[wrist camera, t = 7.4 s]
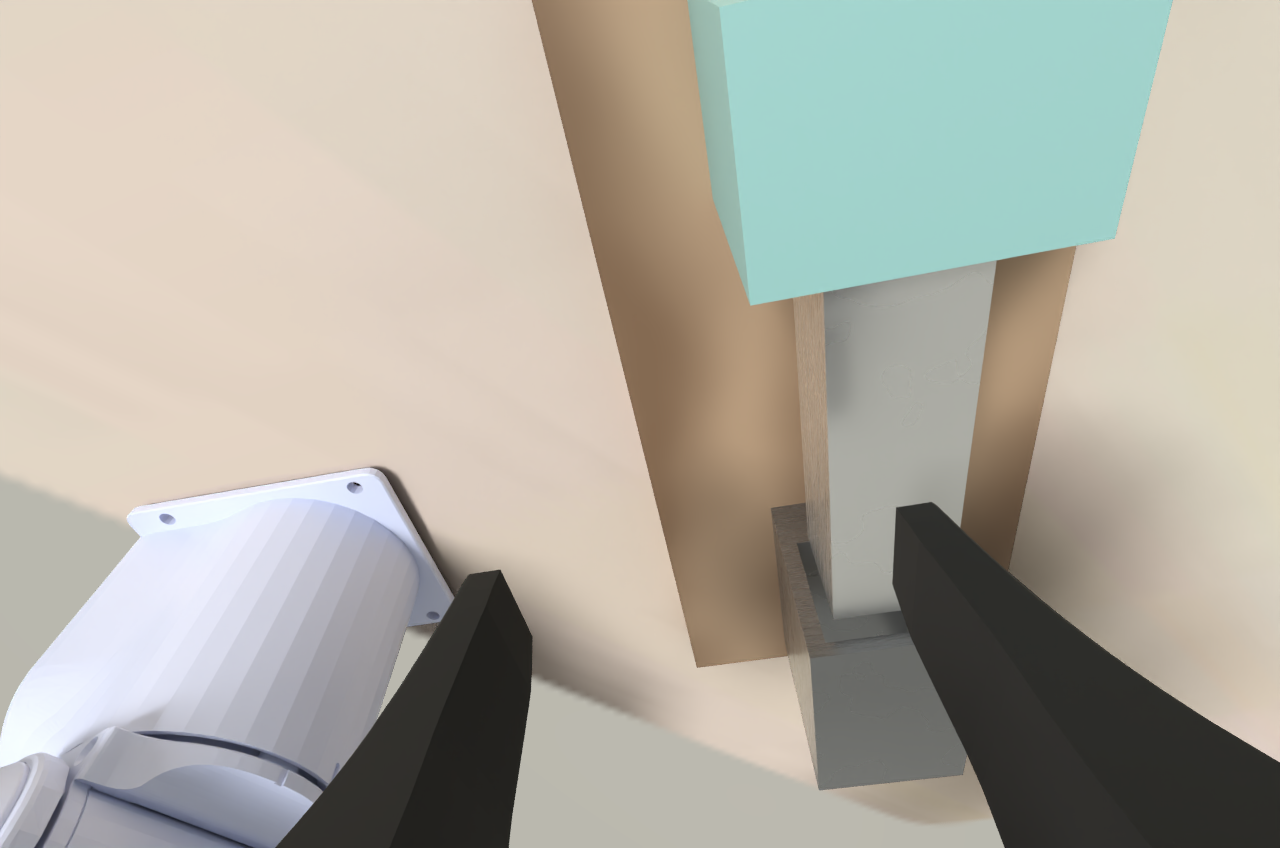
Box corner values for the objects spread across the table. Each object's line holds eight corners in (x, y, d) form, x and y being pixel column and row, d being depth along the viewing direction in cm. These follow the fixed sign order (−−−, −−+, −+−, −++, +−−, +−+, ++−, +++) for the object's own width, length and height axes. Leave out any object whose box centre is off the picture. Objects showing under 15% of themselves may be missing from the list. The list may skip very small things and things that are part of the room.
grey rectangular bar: (807, 536, 20) (833, 619, 17) (778, 54, 12) (816, 80, 10) (908, 521, 19) (949, 603, 17) (944, 18, 12) (1027, 34, 9)
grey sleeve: (784, 641, 26) (819, 790, 21) (770, 507, 22) (809, 658, 17) (901, 626, 25) (962, 774, 21) (911, 486, 21) (991, 634, 17)
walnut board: (693, 636, 28) (696, 667, 27) (535, -20, 14) (527, -18, 13) (978, 598, 27) (996, 628, 26) (1113, -160, 13) (1163, -172, 12)
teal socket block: (712, 199, 16) (750, 305, 11) (685, -13, 13) (718, 6, 8) (961, 148, 15) (1114, 238, 10) (983, -84, 12) (1198, -105, 8)
